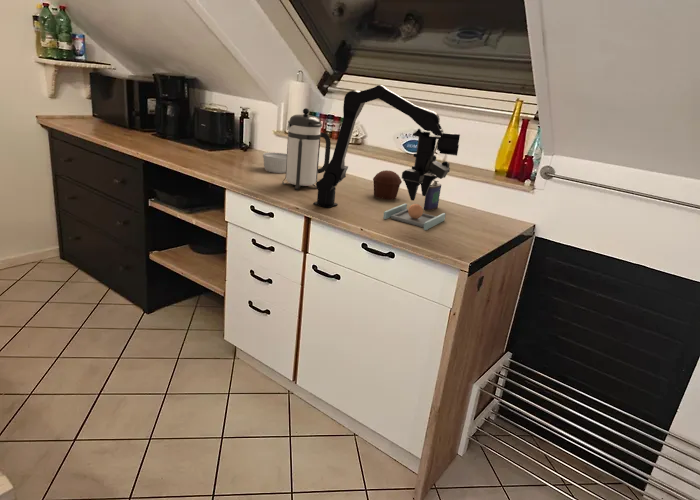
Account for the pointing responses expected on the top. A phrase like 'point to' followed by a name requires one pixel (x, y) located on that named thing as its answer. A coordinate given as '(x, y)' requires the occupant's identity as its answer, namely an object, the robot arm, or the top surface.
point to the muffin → (386, 184)
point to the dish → (405, 218)
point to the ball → (415, 211)
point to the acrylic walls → (427, 224)
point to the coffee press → (305, 150)
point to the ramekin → (275, 162)
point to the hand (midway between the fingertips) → (418, 198)
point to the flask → (432, 196)
